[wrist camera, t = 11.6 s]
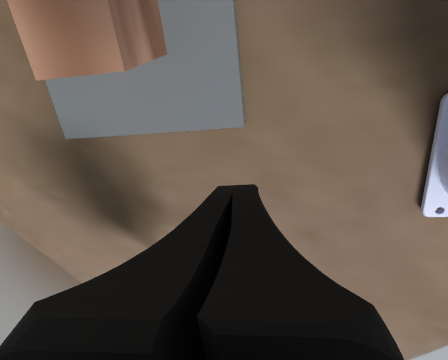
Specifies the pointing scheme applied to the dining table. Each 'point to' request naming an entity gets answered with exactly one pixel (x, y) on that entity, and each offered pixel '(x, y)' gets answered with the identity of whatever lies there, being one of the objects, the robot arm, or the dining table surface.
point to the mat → (163, 81)
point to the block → (88, 35)
